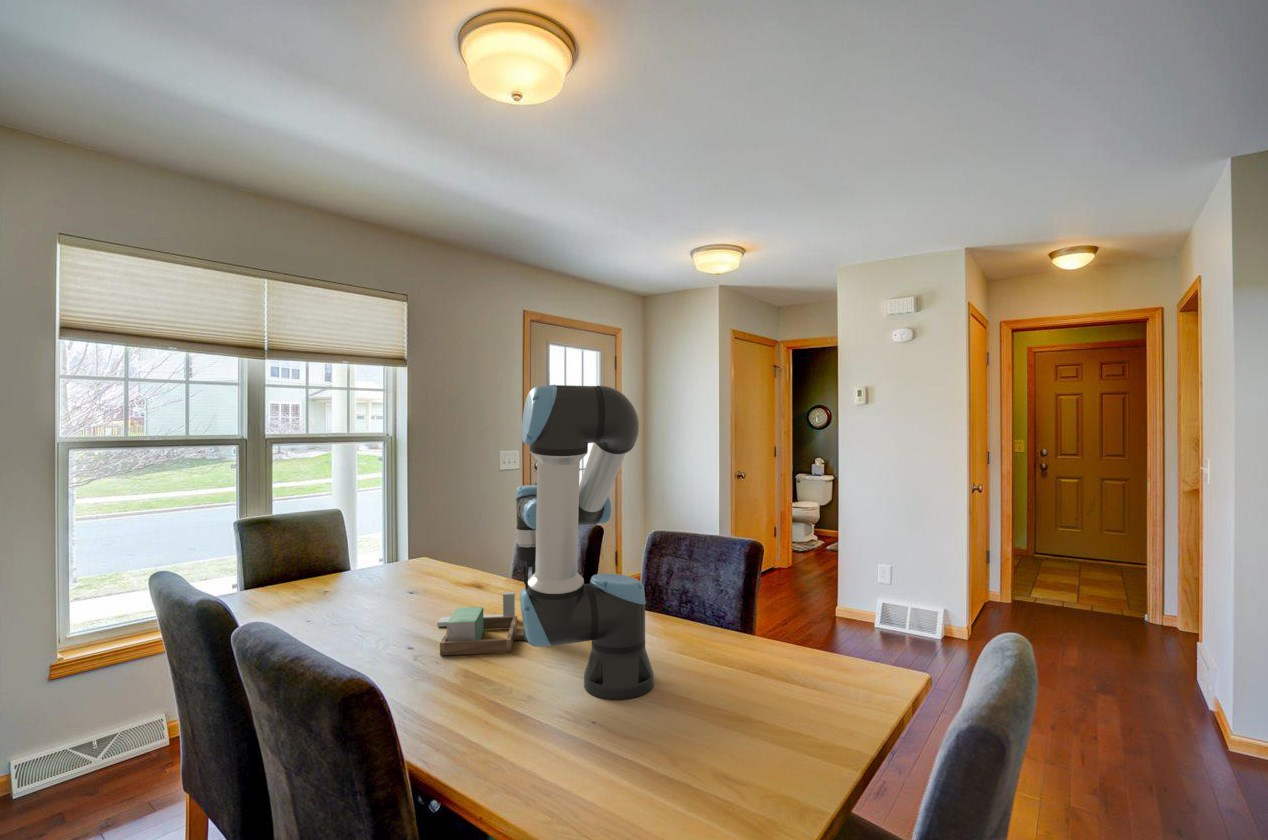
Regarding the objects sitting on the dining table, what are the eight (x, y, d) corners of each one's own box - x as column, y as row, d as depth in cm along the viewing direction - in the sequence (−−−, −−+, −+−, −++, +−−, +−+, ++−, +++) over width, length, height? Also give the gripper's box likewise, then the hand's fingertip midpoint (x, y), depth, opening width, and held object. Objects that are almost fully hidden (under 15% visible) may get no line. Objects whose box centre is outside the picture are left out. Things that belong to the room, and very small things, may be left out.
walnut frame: (536, 650, 151) (535, 606, 151) (439, 655, 148) (439, 610, 149) (539, 625, 170) (539, 586, 170) (454, 629, 167) (454, 589, 167)
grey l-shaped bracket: (513, 623, 172) (513, 595, 172) (437, 626, 170) (437, 598, 170) (515, 617, 177) (515, 590, 177) (441, 621, 175) (441, 593, 175)
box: (484, 632, 166) (483, 605, 166) (476, 651, 152) (476, 621, 152) (456, 634, 165) (456, 606, 165) (446, 652, 151) (446, 622, 151)
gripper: (544, 550, 152) (544, 643, 152) (546, 537, 169) (546, 622, 169) (514, 551, 152) (514, 645, 151) (518, 538, 168) (519, 623, 168)
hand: (531, 632), depth 160 cm, fingers closed on walnut frame, 4 cm apart
